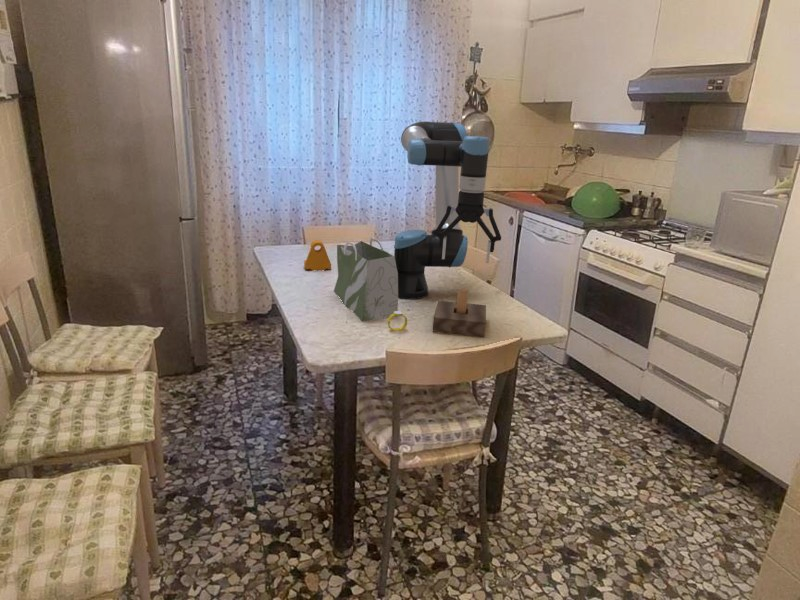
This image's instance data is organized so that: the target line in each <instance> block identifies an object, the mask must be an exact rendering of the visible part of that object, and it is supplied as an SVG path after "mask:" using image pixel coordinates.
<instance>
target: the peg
mask: <svg viewBox="0 0 800 600" xmlns="http://www.w3.org/2000/svg"><path fill="white" fill-rule="evenodd" d="M468 293H469V290H468V289H466V288H459V289H458V291H457V301H456V302H457V311H456V313H462V314H466V306H467V303H468V295H469V294H468Z"/></svg>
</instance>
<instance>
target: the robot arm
mask: <svg viewBox="0 0 800 600" xmlns="http://www.w3.org/2000/svg"><path fill="white" fill-rule="evenodd" d="M400 142H401V143H400V144H401V146H402V147H403V149H404V150H405V151H406V152H407V153H406V154H407V162H408V164H410V165H413V166H414V165H416V166H419V167H420V166H435V226H434V227H433V228H432V229H431V233H430V234H428V232H427V231H426V230H422V229H411V230H410V229H409V230H405V231H402V232H398V233H397V234H396V235H395V237H394V245H393V248H394V249H393V250H394V253H393V256H394V257H395V262H396V267H397V272H398V299H405V300H406V299H408V300H413V299H421V298H424V297H426V296H428V295H429V287H428V282H427V278H426V274H425V269H426V267H435V268H438V267H439V268H459V267H461V266H462V265H463V264H464V262H465V259H466V257H467V252H468V243H469V242H468V237H467V236H466V235H463V229H462V228H461V227H460V226H459V225H460V224H459V223H460V222H463V223H471V224H474V223H477V224H478V225H479V226H480V228H481V229H482V231H483V233H484V234H485V235H486V236H487V238H488V239H489V240H488V241H487V251H486V261H485V262H486V264H489V262H490V254H491V253H494V251H495V244H496V242H499V241H501V240H502V235H501V233H500V230H499V227H498V225H497V222H496V219H495V218H494V209H493V207H489V208H484V201H485V200H484V199H485V198H484V197H485V192H484V191H485V189H486V180H487V170H488V169H487V168H488V161H489V152H490V139H489V138H488V137H486V136H480V135H479V136H475V135H474V136H473V135H472V136H471V135H468V134H467V130H466V128H465V126H464V125H463V124H462V123H456V122H440V121H439V122H437V121H418V122H415V123H412V124H410V125H407V127H405V129H404V130H403V131H402V133H401V136H400ZM459 167H460V175H459ZM459 189H460V190H459ZM484 214H485V215H486V217H488V218H489V222H490V223H491V227H492V229H493V231H494V234H495V236H494V235H493V233H492V232H491V230H490V229H489V227H488V226H487V225H486V223H485V222H484V220H483V219H482V218H481V217H482V216H483V215H484Z"/></svg>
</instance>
